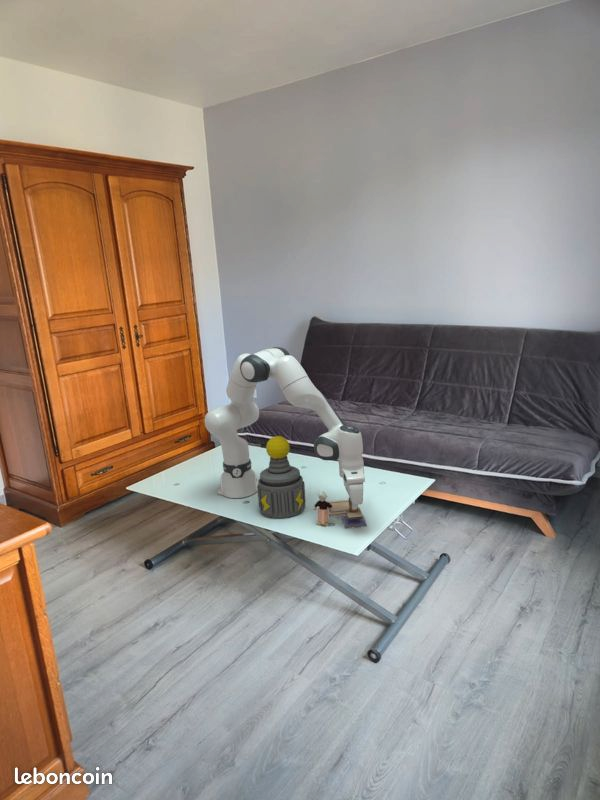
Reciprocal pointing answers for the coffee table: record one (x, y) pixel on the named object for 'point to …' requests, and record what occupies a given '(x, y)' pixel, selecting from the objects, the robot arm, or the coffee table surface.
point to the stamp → (353, 512)
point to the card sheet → (338, 507)
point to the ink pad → (353, 522)
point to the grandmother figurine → (323, 509)
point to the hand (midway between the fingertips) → (353, 506)
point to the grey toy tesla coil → (280, 483)
